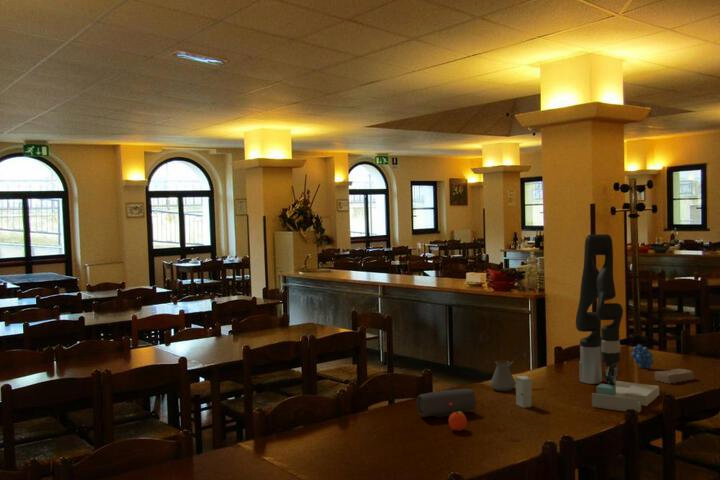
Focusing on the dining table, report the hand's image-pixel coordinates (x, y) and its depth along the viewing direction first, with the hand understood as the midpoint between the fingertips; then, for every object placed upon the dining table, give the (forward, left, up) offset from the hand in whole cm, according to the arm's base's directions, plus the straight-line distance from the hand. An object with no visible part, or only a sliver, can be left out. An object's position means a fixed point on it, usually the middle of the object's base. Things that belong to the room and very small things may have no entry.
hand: (612, 391), depth 277 cm
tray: (+4, +5, -5) cm, 8 cm away
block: (-1, -5, -1) cm, 5 cm away
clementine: (-36, -65, -5) cm, 75 cm away
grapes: (-7, +67, -5) cm, 67 cm away
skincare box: (-29, -23, -5) cm, 38 cm away
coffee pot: (-47, +1, -5) cm, 48 cm away
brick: (+12, +50, -5) cm, 52 cm away
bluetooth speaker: (-50, -51, -5) cm, 72 cm away
